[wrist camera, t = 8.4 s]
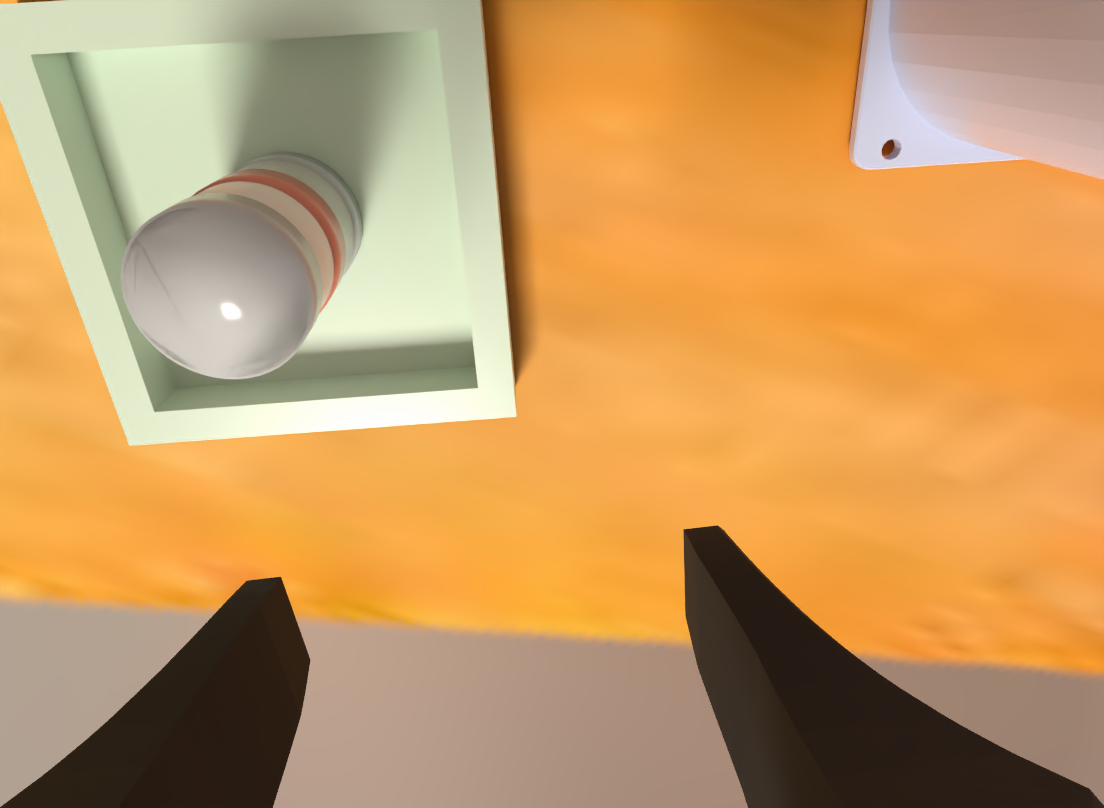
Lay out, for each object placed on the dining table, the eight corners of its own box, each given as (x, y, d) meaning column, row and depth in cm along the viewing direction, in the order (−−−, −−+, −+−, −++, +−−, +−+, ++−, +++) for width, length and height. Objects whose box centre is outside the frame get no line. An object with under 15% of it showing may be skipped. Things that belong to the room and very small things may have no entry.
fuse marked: (353, 150, 19) (295, 201, 14) (370, 284, 21) (324, 376, 15) (210, 152, 19) (97, 206, 14) (239, 287, 21) (148, 382, 15)
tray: (480, -21, 18) (477, -25, 16) (515, 387, 23) (516, 416, 21) (16, 7, 18) (-35, 6, 16) (157, 414, 23) (129, 445, 21)
